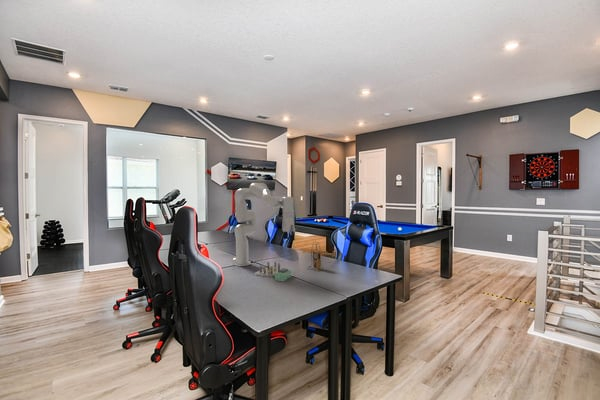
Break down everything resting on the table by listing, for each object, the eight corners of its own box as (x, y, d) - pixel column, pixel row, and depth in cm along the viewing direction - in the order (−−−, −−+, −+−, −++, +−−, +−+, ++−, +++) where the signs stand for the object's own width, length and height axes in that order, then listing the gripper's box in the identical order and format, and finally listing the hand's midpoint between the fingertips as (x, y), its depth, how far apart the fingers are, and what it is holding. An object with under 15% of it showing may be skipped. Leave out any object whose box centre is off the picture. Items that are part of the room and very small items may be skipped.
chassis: (271, 277, 193) (271, 268, 193) (254, 274, 199) (254, 266, 199) (284, 270, 209) (284, 262, 209) (268, 268, 215) (268, 260, 215)
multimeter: (302, 267, 216) (301, 241, 216) (313, 266, 221) (313, 240, 220) (311, 272, 203) (310, 244, 202) (323, 270, 207) (323, 243, 207)
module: (283, 281, 184) (283, 272, 184) (274, 280, 186) (274, 271, 186) (291, 276, 195) (291, 268, 195) (283, 275, 197) (283, 267, 197)
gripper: (277, 214, 204) (278, 238, 204) (289, 215, 189) (290, 241, 189) (287, 213, 207) (288, 237, 208) (299, 214, 192) (300, 240, 193)
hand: (289, 239), depth 198 cm, fingers open, 9 cm apart
